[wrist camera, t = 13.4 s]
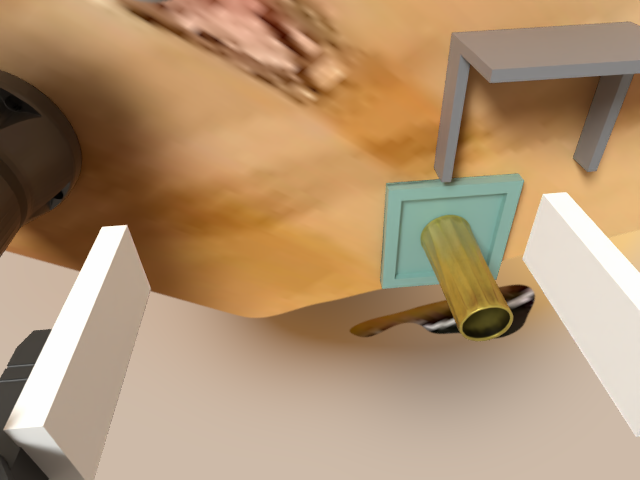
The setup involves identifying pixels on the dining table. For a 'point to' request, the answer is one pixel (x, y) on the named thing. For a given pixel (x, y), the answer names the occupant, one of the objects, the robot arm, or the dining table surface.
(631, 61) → the dock
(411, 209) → the tray
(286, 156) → the dining table surface
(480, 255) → the vase
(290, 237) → the dining table surface
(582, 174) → the dining table surface
